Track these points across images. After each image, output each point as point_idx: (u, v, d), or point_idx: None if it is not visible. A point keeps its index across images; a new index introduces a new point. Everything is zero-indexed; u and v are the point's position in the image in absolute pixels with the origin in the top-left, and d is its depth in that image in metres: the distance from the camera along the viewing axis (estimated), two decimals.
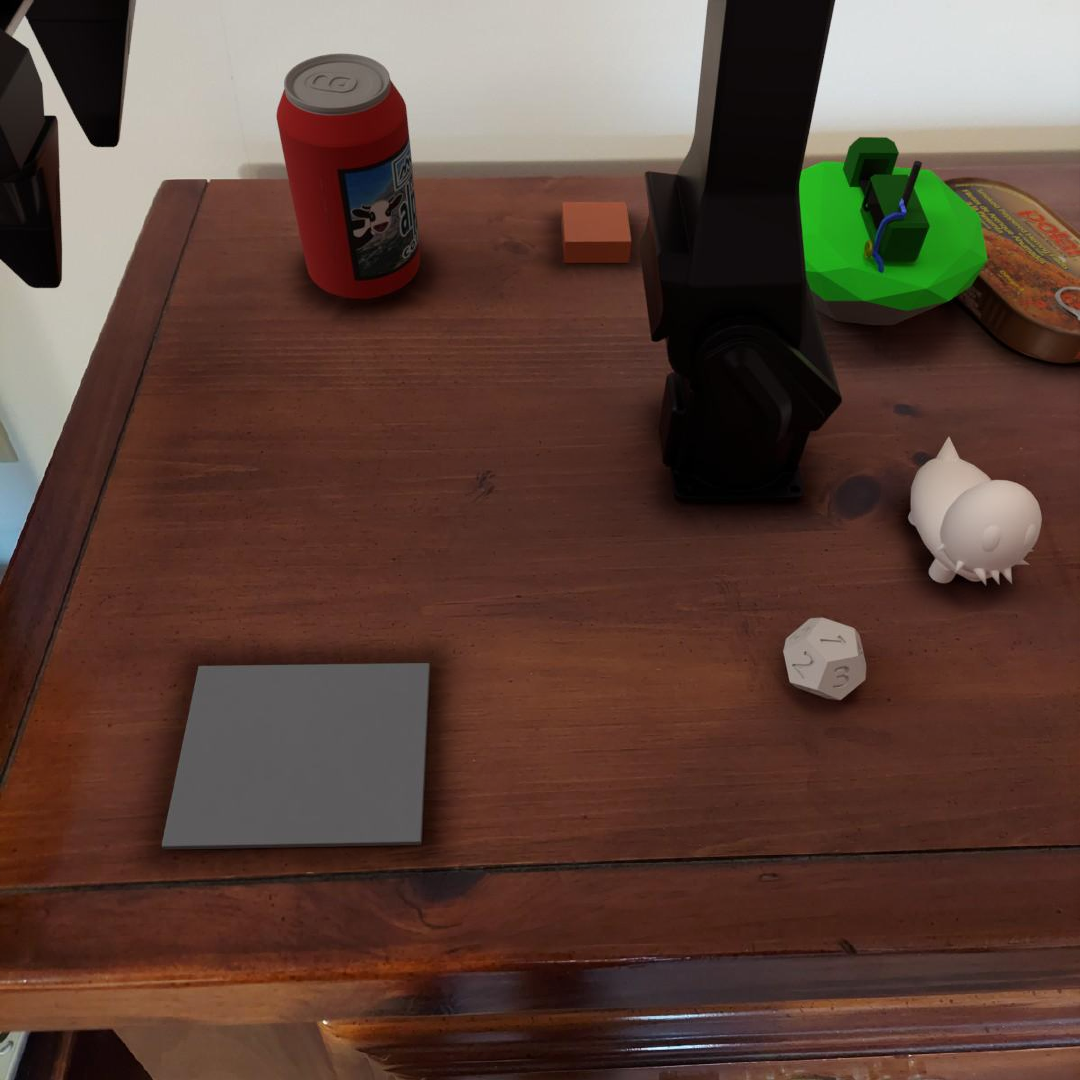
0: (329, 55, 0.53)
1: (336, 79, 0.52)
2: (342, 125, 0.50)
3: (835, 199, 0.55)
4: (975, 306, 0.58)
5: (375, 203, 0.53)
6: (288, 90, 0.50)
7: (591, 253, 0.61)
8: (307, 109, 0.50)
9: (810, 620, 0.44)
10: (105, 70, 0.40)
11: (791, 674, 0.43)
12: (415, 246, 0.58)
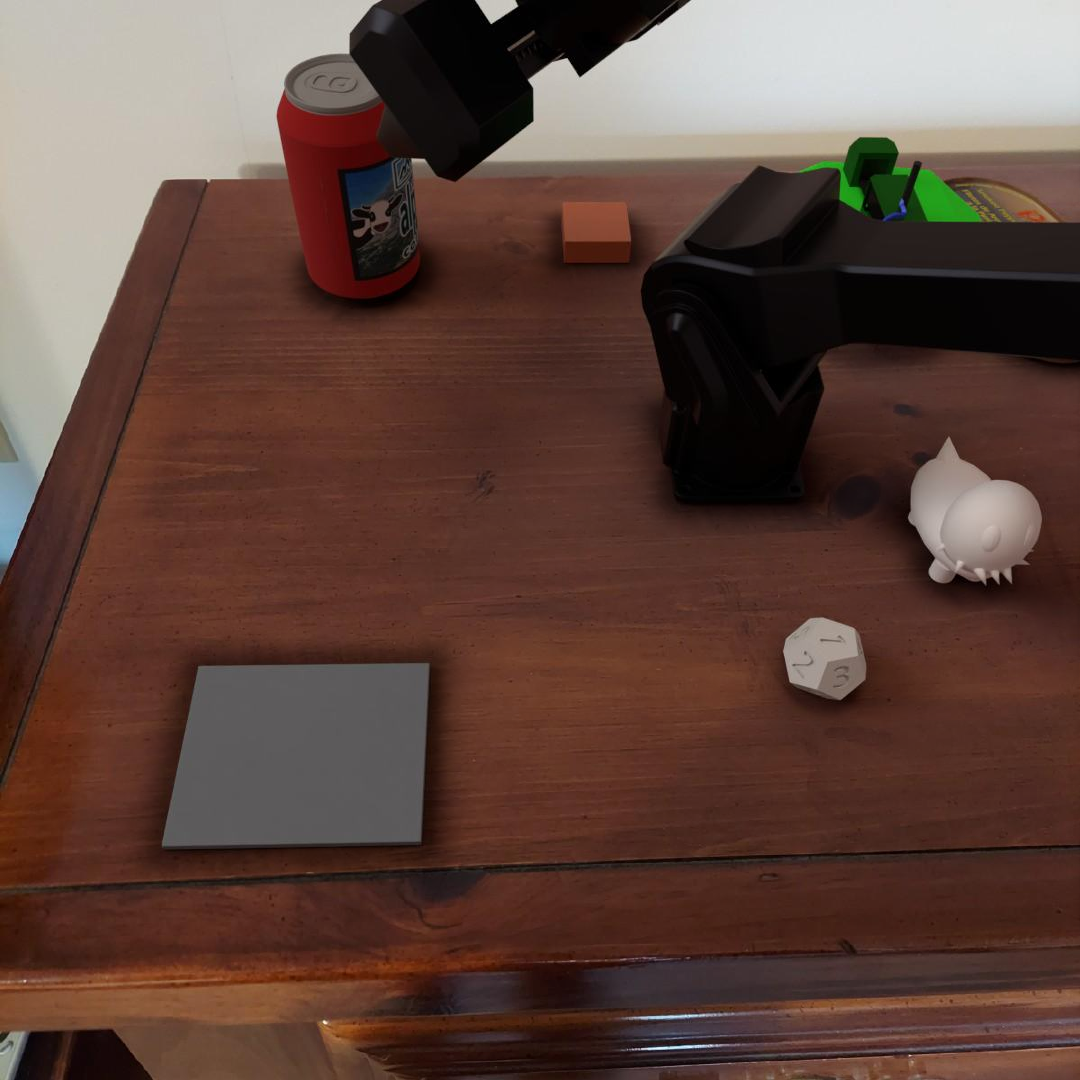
0: (329, 54, 0.53)
1: (336, 78, 0.52)
2: (343, 125, 0.50)
3: None
4: None
5: (375, 203, 0.53)
6: (288, 90, 0.50)
7: (591, 253, 0.61)
8: (307, 109, 0.50)
9: (810, 620, 0.44)
10: None
11: (791, 674, 0.43)
12: (415, 246, 0.58)
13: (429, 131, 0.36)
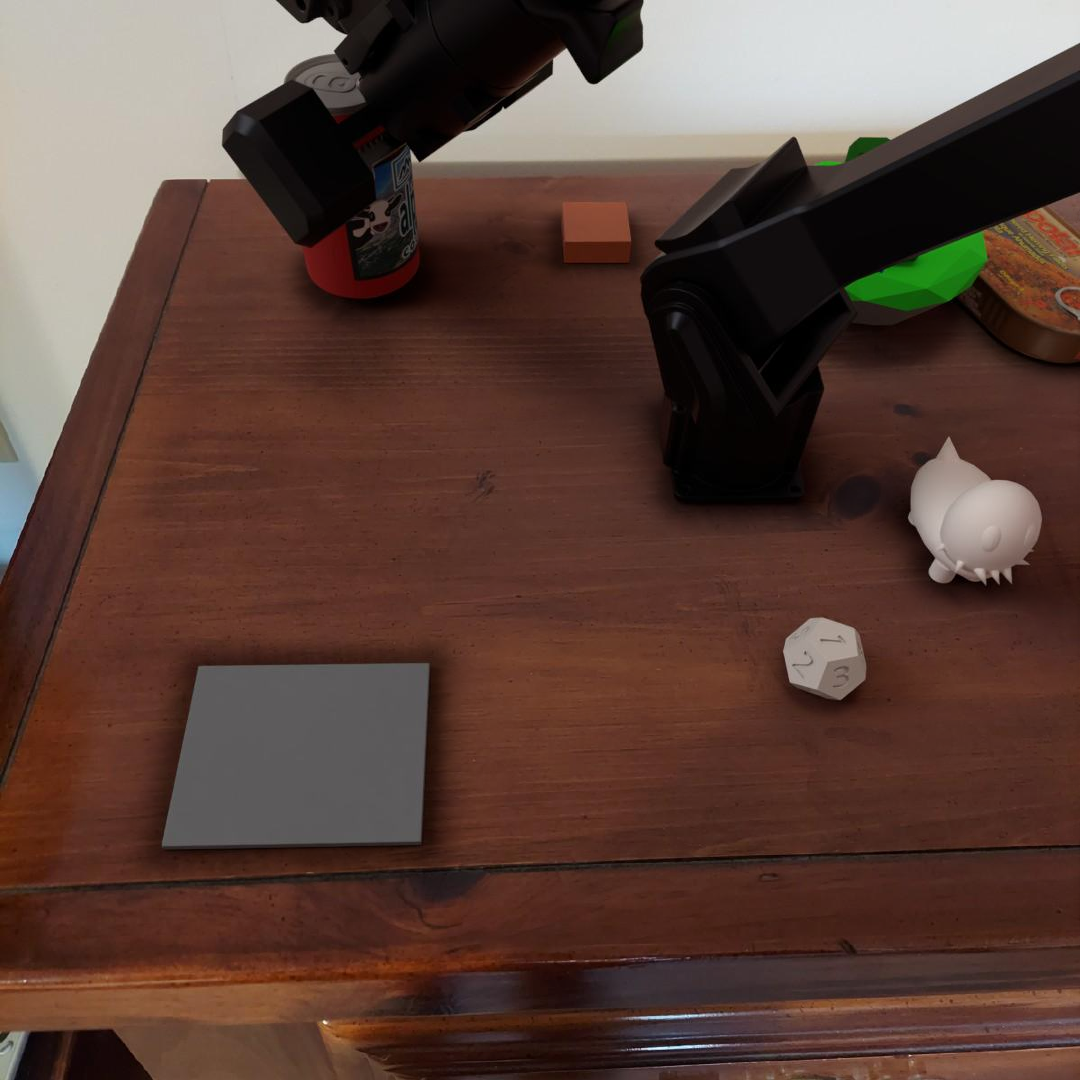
0: (329, 55, 0.53)
1: (336, 78, 0.52)
2: None
3: None
4: (975, 306, 0.58)
5: (374, 203, 0.53)
6: None
7: (591, 253, 0.61)
8: None
9: (810, 620, 0.44)
10: None
11: (791, 674, 0.43)
12: (415, 246, 0.58)
13: (285, 209, 0.45)
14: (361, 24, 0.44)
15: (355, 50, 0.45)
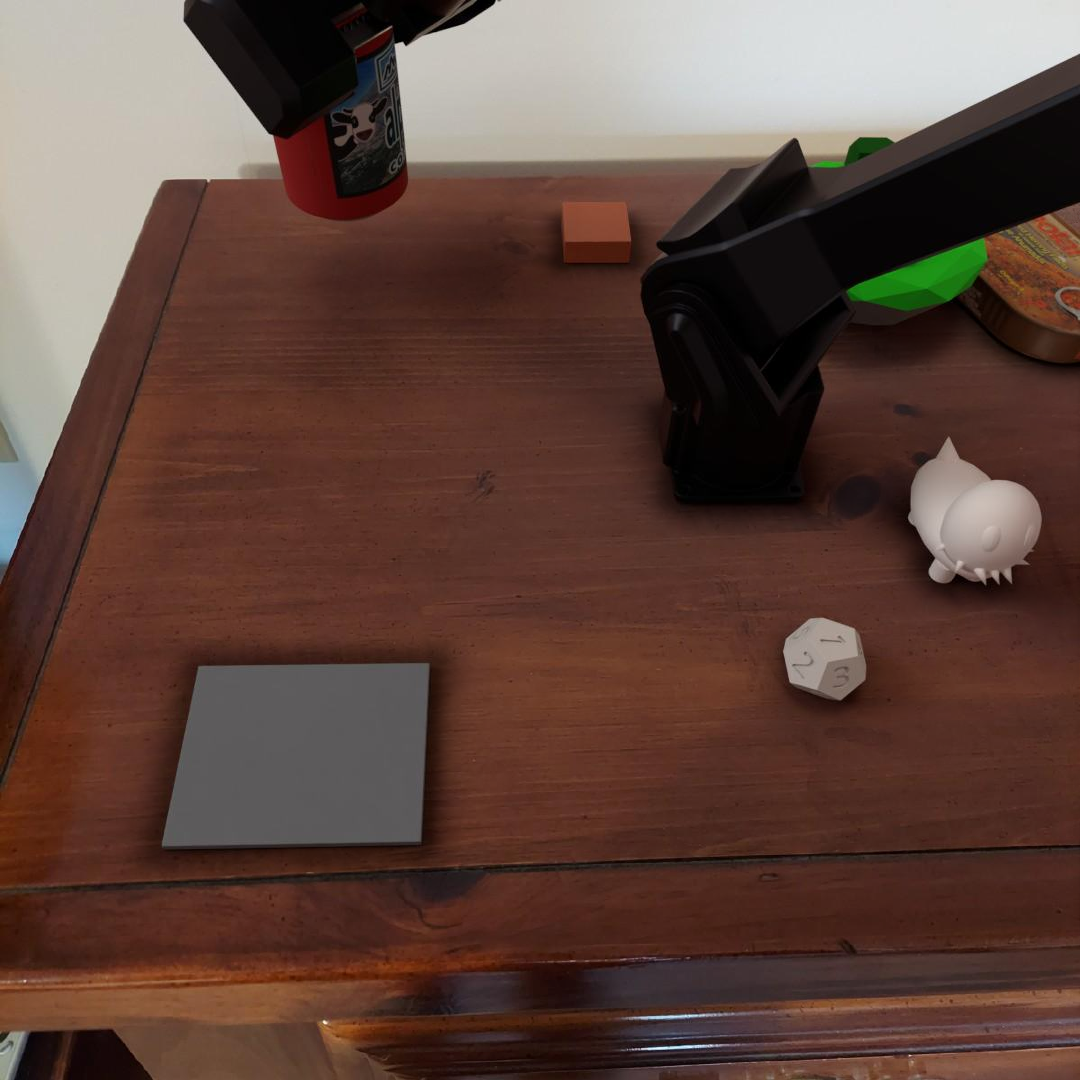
0: None
1: None
2: None
3: None
4: (975, 306, 0.58)
5: (357, 106, 0.49)
6: None
7: (591, 253, 0.61)
8: None
9: (810, 620, 0.44)
10: None
11: (791, 674, 0.43)
12: (402, 161, 0.53)
13: (256, 92, 0.40)
14: None
15: None
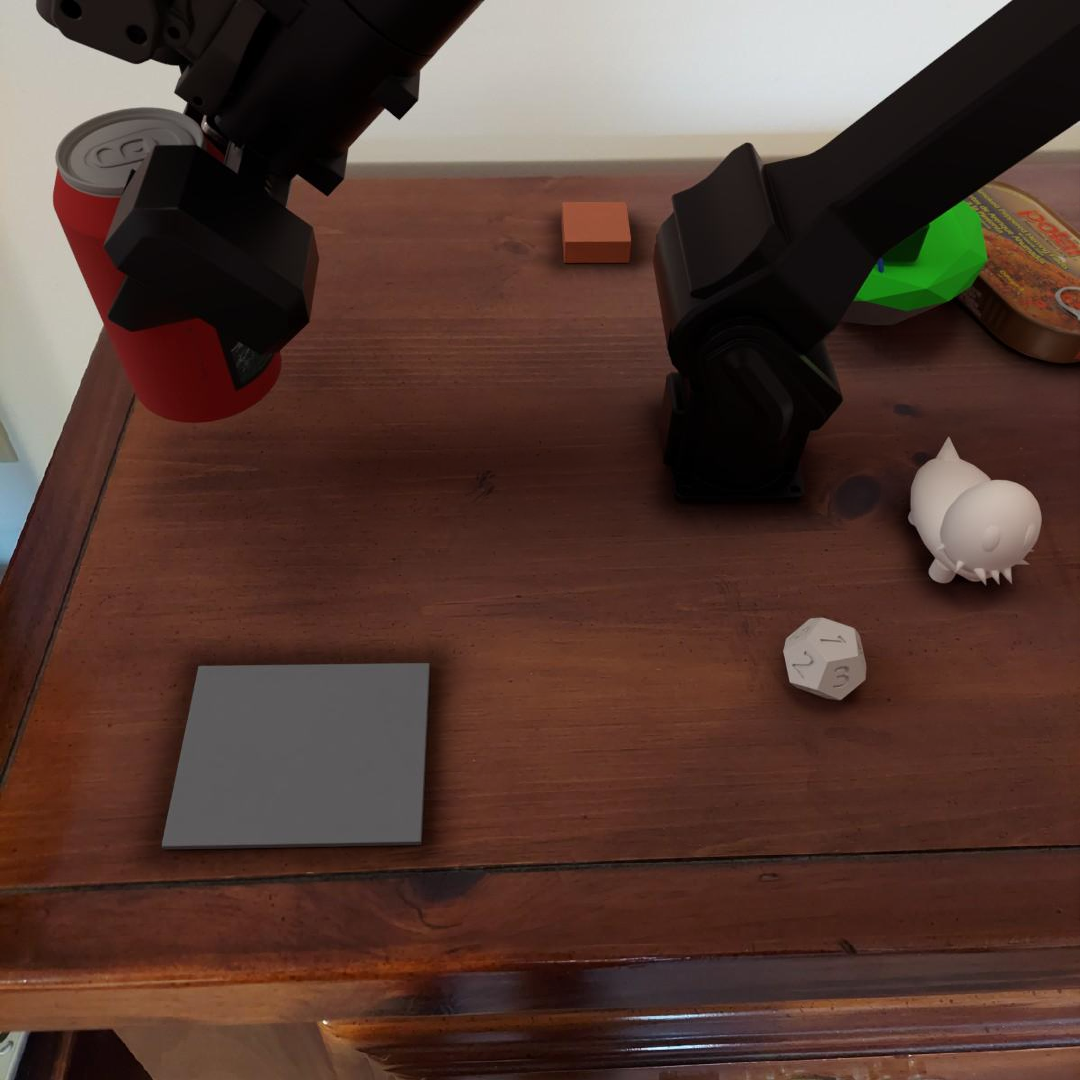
0: (86, 122, 0.38)
1: (123, 146, 0.38)
2: None
3: None
4: (975, 306, 0.58)
5: None
6: (80, 180, 0.36)
7: (591, 253, 0.61)
8: None
9: (810, 620, 0.44)
10: None
11: (791, 674, 0.43)
12: None
13: (244, 314, 0.32)
14: (220, 37, 0.31)
15: (214, 78, 0.32)
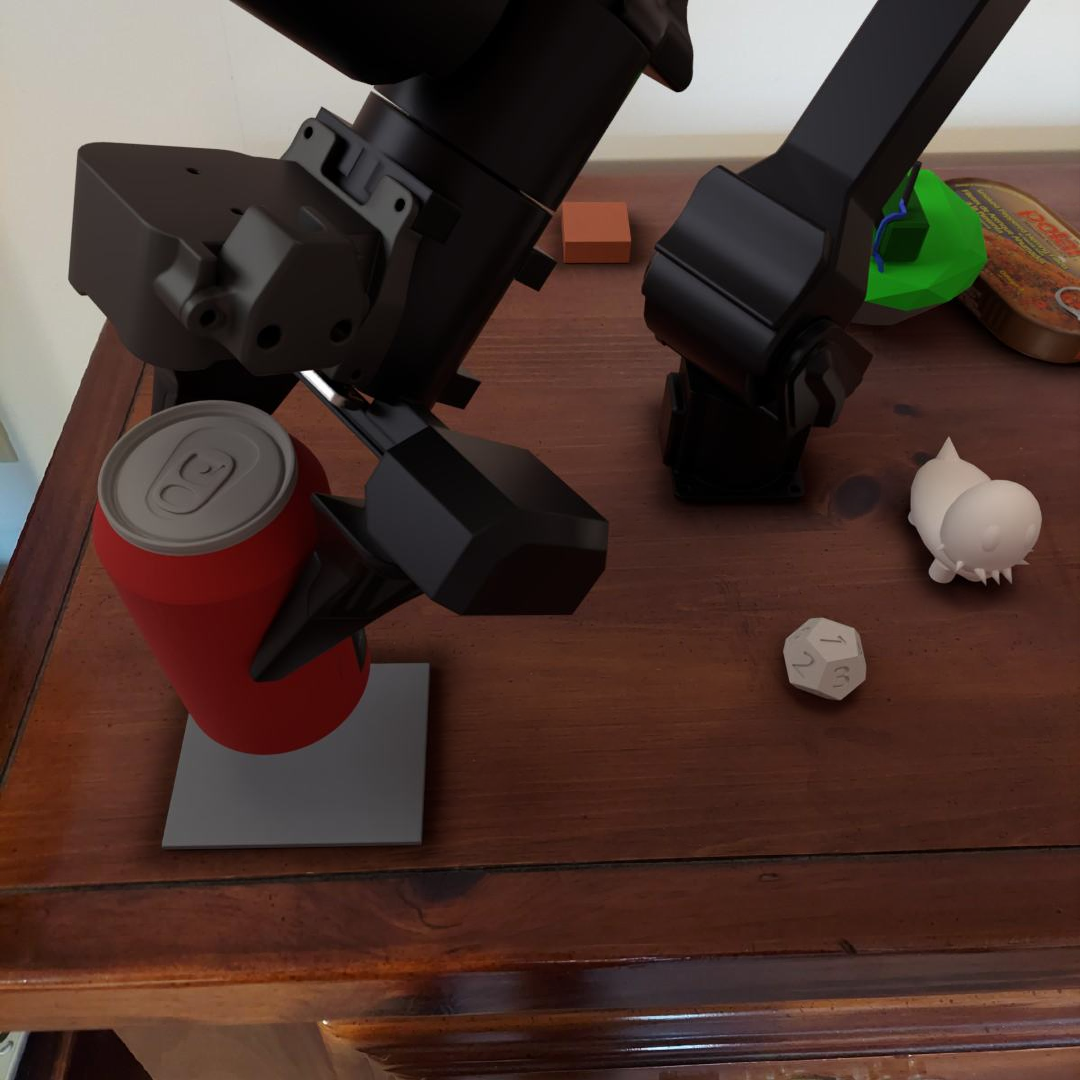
0: (103, 470, 0.28)
1: (181, 474, 0.28)
2: (306, 493, 0.28)
3: None
4: (975, 306, 0.58)
5: None
6: (195, 542, 0.26)
7: (591, 253, 0.61)
8: (261, 526, 0.27)
9: (810, 620, 0.44)
10: None
11: (791, 674, 0.43)
12: None
13: (570, 582, 0.26)
14: (384, 289, 0.24)
15: (376, 339, 0.25)
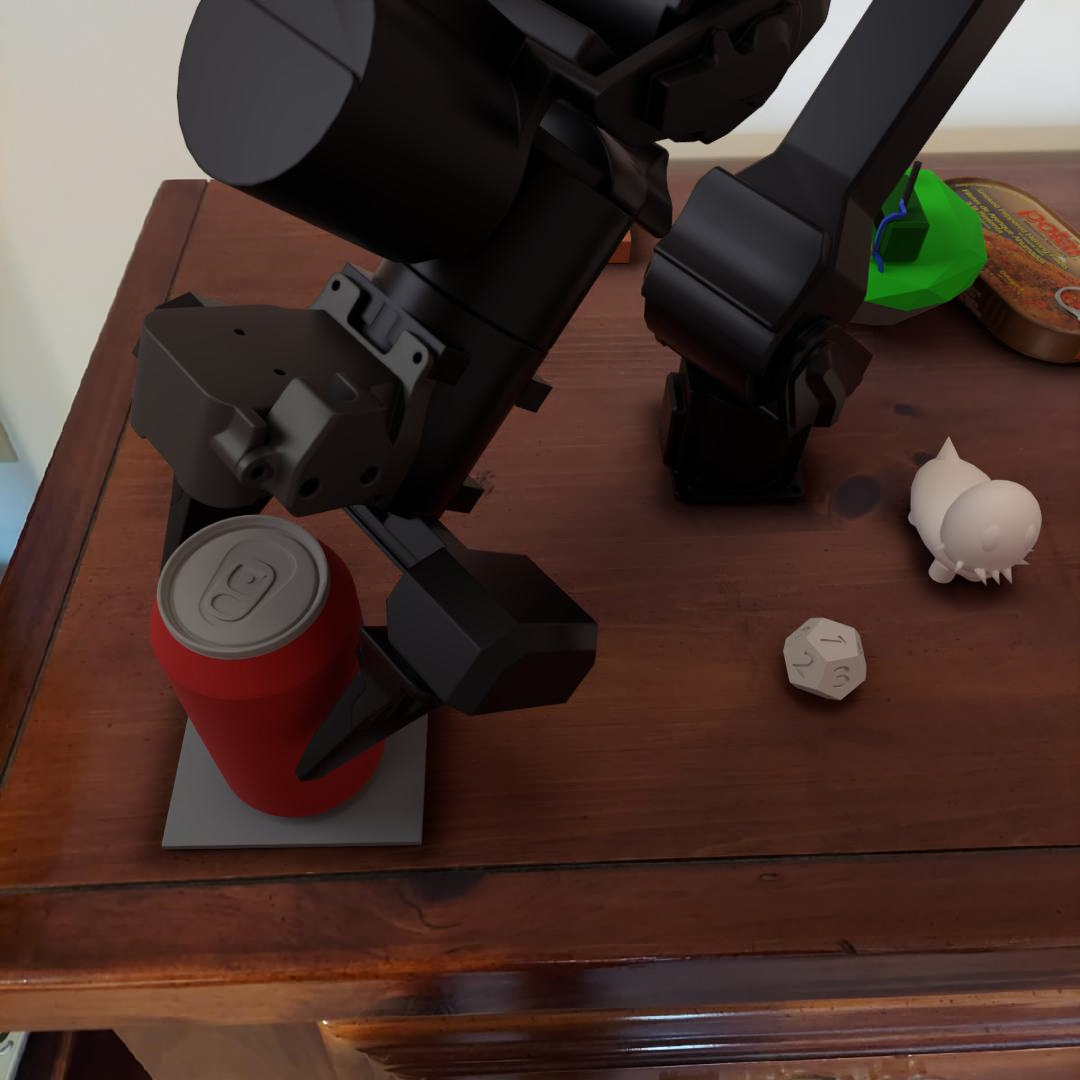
0: (161, 580, 0.32)
1: (228, 583, 0.32)
2: (338, 600, 0.32)
3: None
4: (975, 306, 0.58)
5: None
6: (243, 648, 0.30)
7: None
8: (299, 633, 0.31)
9: (810, 620, 0.44)
10: None
11: (791, 674, 0.43)
12: None
13: (564, 678, 0.30)
14: (404, 429, 0.28)
15: (396, 469, 0.29)
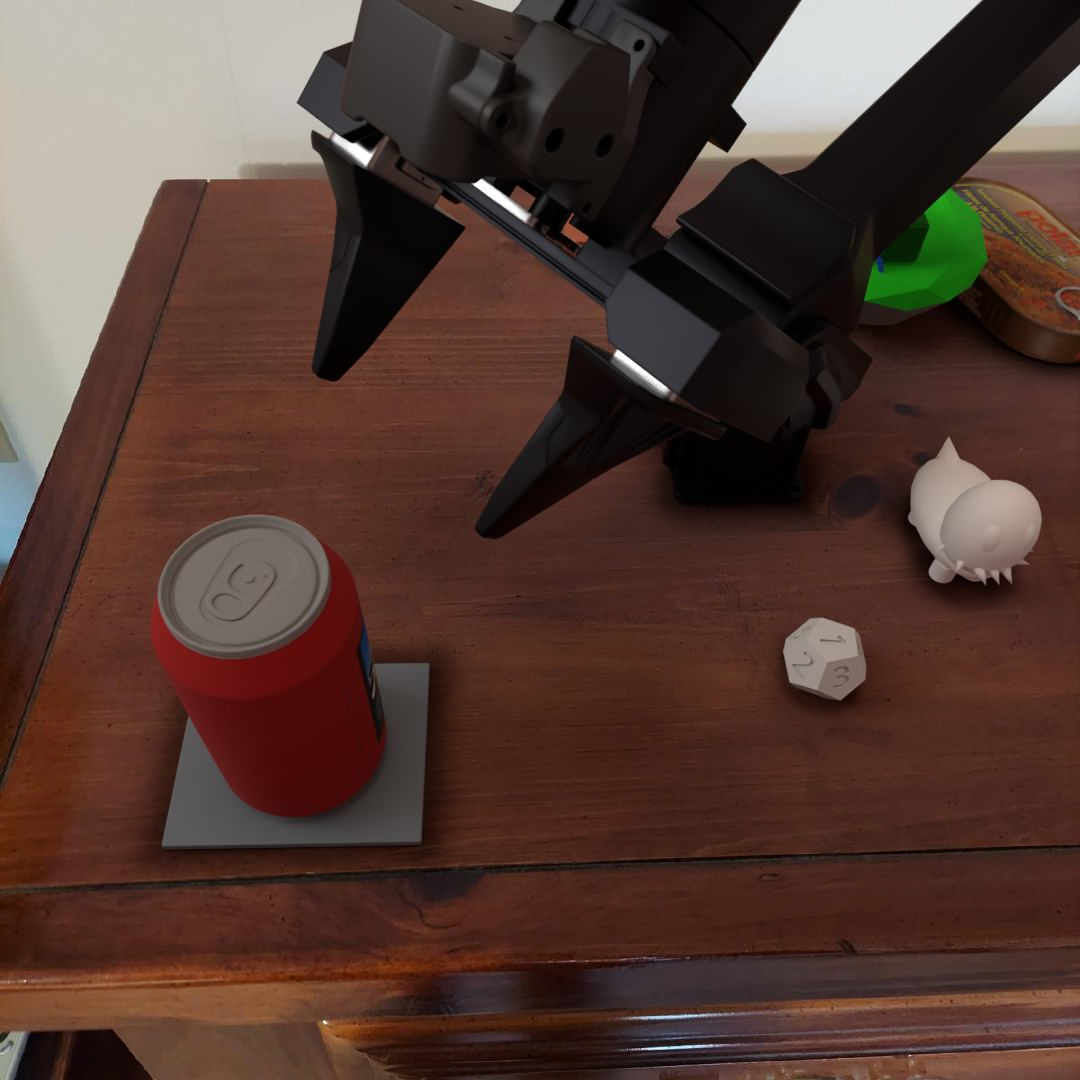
0: (162, 580, 0.32)
1: (229, 583, 0.32)
2: (338, 599, 0.32)
3: None
4: (975, 306, 0.58)
5: None
6: (244, 648, 0.30)
7: None
8: (300, 632, 0.31)
9: (810, 620, 0.44)
10: (387, 307, 0.36)
11: (791, 674, 0.43)
12: None
13: (777, 402, 0.28)
14: None
15: (608, 174, 0.27)
